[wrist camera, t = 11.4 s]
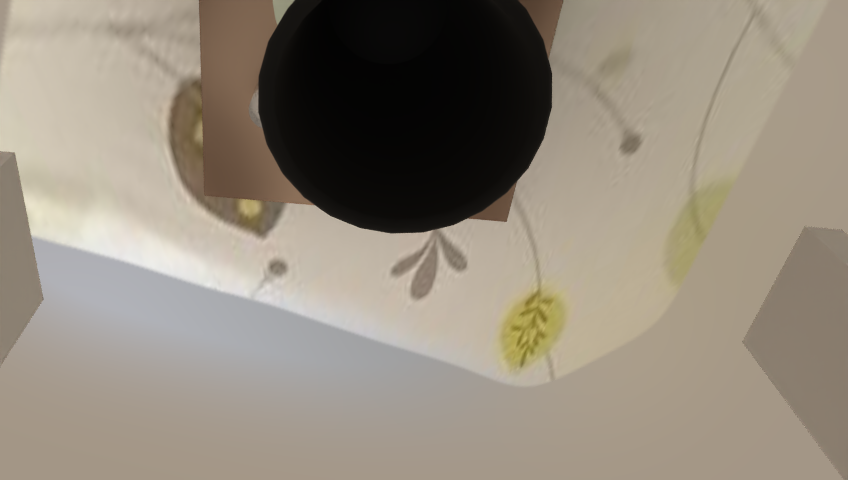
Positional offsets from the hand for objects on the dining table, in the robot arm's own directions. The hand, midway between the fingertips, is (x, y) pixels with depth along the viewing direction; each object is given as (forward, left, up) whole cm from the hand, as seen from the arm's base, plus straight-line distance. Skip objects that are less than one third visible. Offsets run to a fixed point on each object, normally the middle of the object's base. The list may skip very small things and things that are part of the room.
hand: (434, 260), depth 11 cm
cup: (0, 0, -19) cm, 19 cm away
